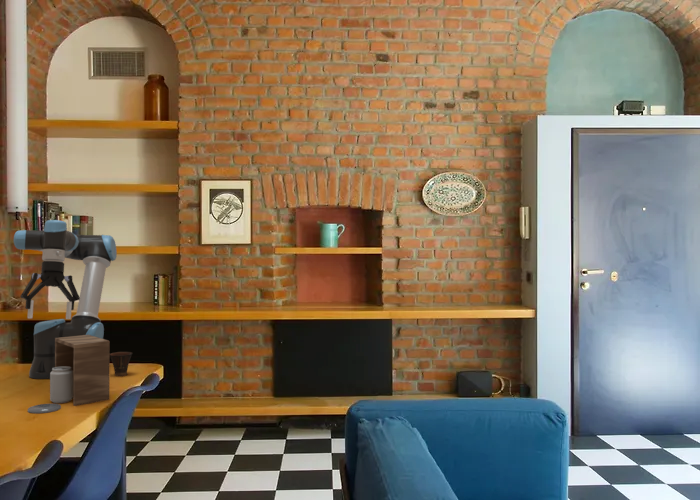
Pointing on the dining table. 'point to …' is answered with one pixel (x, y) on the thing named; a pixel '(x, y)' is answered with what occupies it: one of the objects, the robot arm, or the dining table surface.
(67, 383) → the can
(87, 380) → the wooden box
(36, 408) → the coaster
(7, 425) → the dining table surface
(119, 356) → the cup
